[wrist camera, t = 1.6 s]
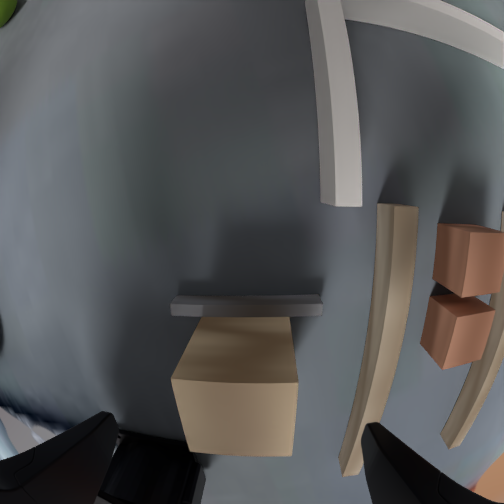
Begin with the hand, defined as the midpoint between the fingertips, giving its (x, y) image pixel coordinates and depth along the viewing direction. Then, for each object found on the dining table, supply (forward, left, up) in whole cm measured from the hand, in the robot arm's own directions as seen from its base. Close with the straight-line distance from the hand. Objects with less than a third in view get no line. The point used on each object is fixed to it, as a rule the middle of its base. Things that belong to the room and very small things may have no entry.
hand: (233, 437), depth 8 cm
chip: (+12, +5, -7) cm, 14 cm away
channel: (+12, -2, -7) cm, 13 cm away
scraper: (0, 0, -7) cm, 7 cm away
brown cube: (+12, +1, -7) cm, 13 cm away
